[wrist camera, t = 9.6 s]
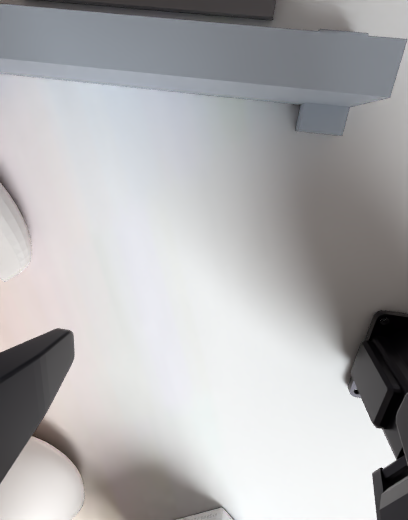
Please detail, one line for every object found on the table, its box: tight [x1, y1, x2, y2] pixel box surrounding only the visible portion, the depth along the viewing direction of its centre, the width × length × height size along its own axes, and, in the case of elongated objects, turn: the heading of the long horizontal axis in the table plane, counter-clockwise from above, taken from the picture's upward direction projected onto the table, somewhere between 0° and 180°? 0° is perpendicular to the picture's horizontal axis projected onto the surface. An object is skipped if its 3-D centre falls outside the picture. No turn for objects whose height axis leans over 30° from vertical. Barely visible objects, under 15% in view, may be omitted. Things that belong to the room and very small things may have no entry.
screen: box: [0, 4, 407, 136], centre depth 13 cm, size 20×4×6 cm, turn 84°
